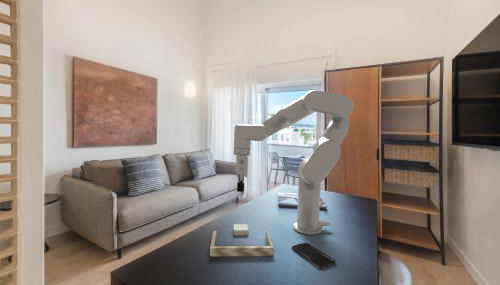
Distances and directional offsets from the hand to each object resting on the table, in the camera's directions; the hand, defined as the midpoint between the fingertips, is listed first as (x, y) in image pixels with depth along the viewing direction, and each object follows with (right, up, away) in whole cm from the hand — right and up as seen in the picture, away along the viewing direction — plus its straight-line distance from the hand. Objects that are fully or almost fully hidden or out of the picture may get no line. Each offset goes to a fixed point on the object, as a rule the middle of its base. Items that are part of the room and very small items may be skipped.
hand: (240, 191), depth 107 cm
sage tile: (0, -16, -7) cm, 18 cm away
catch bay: (+1, -17, -19) cm, 25 cm away
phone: (+27, -18, -24) cm, 40 cm away
